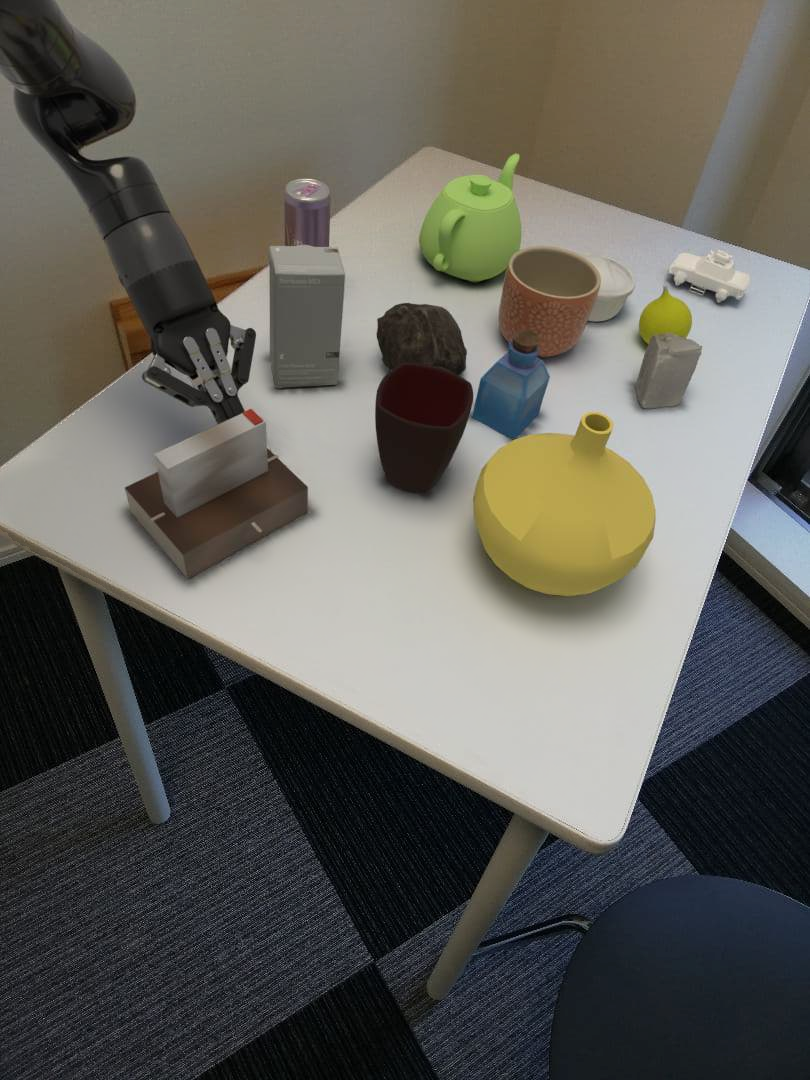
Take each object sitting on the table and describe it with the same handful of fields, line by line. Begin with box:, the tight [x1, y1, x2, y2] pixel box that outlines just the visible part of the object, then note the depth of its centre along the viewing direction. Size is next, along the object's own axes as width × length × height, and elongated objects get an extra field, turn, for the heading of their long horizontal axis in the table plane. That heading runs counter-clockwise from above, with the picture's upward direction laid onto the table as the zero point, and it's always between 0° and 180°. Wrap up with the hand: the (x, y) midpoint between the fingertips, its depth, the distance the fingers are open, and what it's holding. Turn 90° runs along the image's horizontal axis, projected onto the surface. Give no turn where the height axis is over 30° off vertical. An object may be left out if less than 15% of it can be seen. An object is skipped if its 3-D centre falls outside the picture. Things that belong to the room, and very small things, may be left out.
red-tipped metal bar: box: [154, 408, 268, 518], centre depth 77 cm, size 11×2×7 cm, turn 132°
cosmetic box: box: [268, 245, 346, 389], centre depth 93 cm, size 8×7×16 cm
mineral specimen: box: [634, 333, 703, 410], centre depth 101 cm, size 7×9×8 cm
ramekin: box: [577, 252, 636, 323], centre depth 113 cm, size 11×11×5 cm
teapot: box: [418, 153, 522, 283], centre depth 115 cm, size 22×15×13 cm
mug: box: [374, 363, 474, 494], centre depth 86 cm, size 10×14×12 cm
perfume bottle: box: [471, 329, 551, 441], centre depth 93 cm, size 6×6×12 cm
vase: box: [472, 411, 656, 597], centre depth 76 cm, size 18×18×19 cm
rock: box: [376, 302, 468, 376], centre depth 98 cm, size 10×11×10 cm
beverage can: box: [283, 178, 332, 247], centre depth 104 cm, size 6×6×15 cm
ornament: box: [638, 283, 693, 345], centre depth 107 cm, size 7×7×10 cm
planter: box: [498, 245, 601, 358], centre depth 104 cm, size 12×12×11 cm
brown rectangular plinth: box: [124, 447, 309, 580], centre depth 81 cm, size 15×15×4 cm
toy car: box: [667, 249, 751, 304], centre depth 119 cm, size 6×12×7 cm, turn 60°
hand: (239, 434), depth 80 cm, fingers closed
